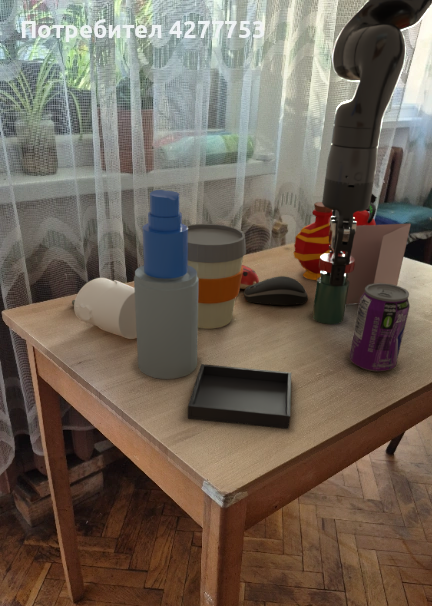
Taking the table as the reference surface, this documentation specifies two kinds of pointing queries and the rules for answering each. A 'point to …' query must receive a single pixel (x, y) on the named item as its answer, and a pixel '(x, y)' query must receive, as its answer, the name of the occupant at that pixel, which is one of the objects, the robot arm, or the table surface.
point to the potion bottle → (313, 242)
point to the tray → (241, 396)
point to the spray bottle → (166, 293)
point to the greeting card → (376, 257)
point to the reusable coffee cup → (216, 270)
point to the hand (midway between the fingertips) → (334, 278)
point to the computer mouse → (277, 292)
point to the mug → (108, 306)
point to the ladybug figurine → (248, 278)
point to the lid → (326, 263)
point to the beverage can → (379, 327)
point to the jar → (330, 300)
